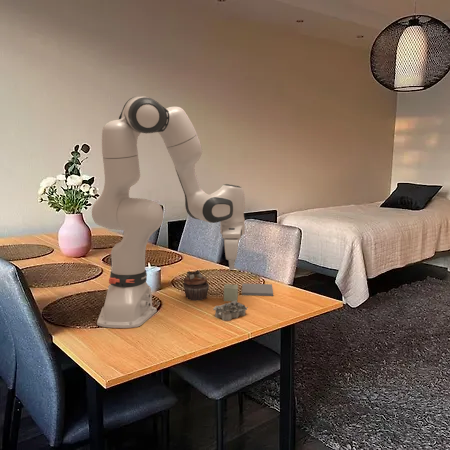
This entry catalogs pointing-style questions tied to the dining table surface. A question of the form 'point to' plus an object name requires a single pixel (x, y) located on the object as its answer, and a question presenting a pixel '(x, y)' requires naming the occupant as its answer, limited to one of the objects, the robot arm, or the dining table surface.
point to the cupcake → (195, 286)
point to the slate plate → (257, 289)
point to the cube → (230, 292)
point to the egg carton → (230, 310)
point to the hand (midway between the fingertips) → (232, 265)
